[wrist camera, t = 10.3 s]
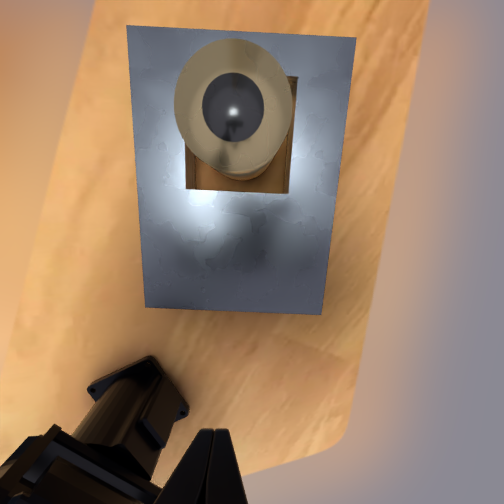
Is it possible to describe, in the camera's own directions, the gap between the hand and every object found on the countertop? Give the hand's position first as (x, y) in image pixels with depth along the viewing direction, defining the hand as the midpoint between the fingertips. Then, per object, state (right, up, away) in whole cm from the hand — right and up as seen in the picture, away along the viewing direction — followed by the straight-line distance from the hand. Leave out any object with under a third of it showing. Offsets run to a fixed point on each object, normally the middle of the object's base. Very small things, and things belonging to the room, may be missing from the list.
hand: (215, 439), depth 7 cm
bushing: (0, +13, +9) cm, 16 cm away
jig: (0, +10, +10) cm, 14 cm away
